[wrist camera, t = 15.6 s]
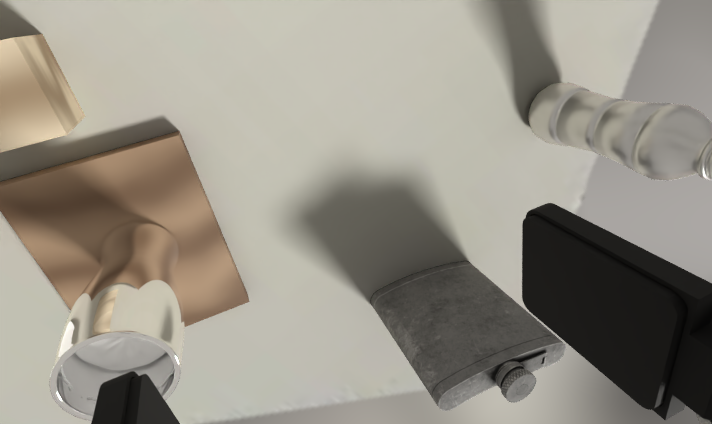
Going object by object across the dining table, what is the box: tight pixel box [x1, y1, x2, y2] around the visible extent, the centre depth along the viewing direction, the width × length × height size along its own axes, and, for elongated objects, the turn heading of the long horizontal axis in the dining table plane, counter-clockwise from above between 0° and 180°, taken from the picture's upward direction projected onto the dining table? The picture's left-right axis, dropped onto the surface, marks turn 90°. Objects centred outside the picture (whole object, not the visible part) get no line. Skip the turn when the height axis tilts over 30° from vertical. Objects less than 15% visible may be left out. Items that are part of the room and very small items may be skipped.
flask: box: [371, 261, 566, 411], centre depth 44 cm, size 4×14×18 cm, turn 97°
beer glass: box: [49, 222, 185, 421], centre depth 30 cm, size 7×7×15 cm
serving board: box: [0, 131, 249, 327], centre depth 37 cm, size 18×14×2 cm
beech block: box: [0, 34, 85, 153], centre depth 27 cm, size 6×6×6 cm
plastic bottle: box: [529, 83, 712, 181], centre depth 39 cm, size 6×7×20 cm
